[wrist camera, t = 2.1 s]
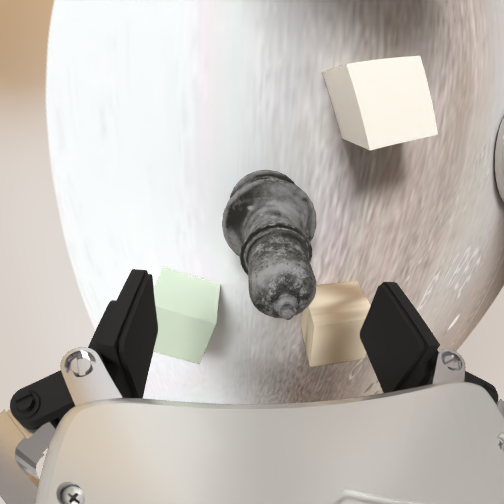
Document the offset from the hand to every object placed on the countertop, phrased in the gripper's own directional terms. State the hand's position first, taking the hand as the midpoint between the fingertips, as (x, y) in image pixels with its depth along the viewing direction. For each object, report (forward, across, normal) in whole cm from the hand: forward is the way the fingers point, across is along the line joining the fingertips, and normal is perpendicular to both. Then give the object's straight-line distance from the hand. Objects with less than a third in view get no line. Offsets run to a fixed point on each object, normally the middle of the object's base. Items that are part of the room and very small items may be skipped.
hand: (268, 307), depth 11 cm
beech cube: (+11, -8, +9) cm, 16 cm away
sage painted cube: (+12, +5, +9) cm, 15 cm away
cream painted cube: (+11, -7, -9) cm, 16 cm away
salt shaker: (+11, -1, 0) cm, 11 cm away
